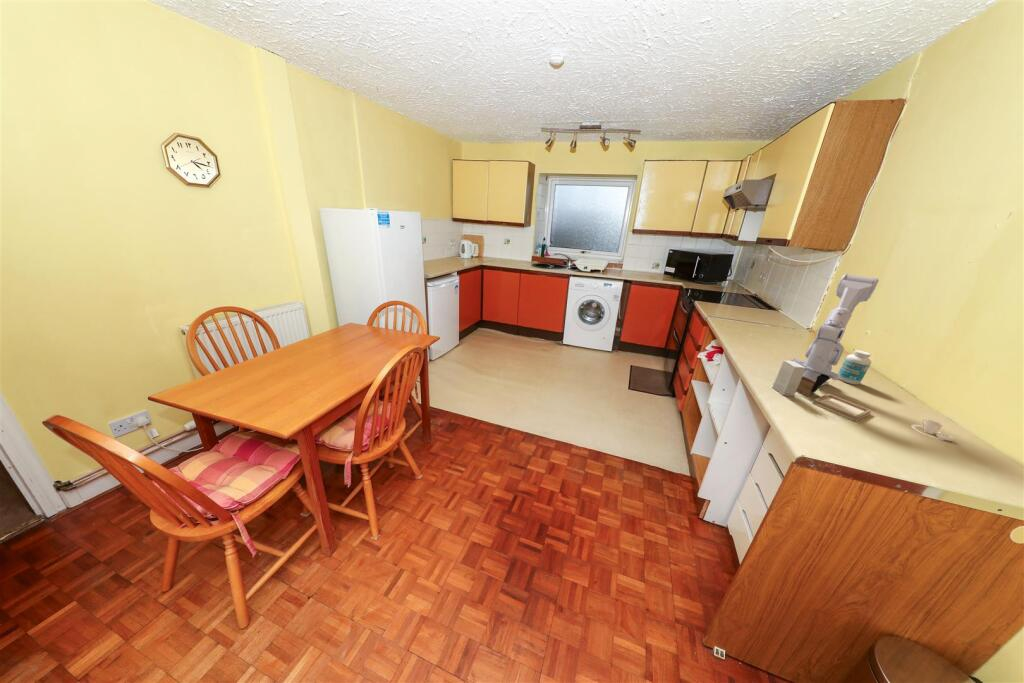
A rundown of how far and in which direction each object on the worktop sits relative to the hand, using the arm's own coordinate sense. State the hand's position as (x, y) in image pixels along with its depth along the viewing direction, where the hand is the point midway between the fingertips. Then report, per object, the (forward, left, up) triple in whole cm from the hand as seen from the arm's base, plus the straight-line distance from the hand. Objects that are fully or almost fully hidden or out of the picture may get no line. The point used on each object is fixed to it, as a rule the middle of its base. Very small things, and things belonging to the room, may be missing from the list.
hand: (804, 387), depth 126 cm
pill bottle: (-32, +3, -2) cm, 32 cm away
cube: (0, 0, -1) cm, 1 cm away
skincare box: (+9, -3, -2) cm, 10 cm away
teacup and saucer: (-6, +32, -2) cm, 32 cm away
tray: (+2, +12, -1) cm, 12 cm away
